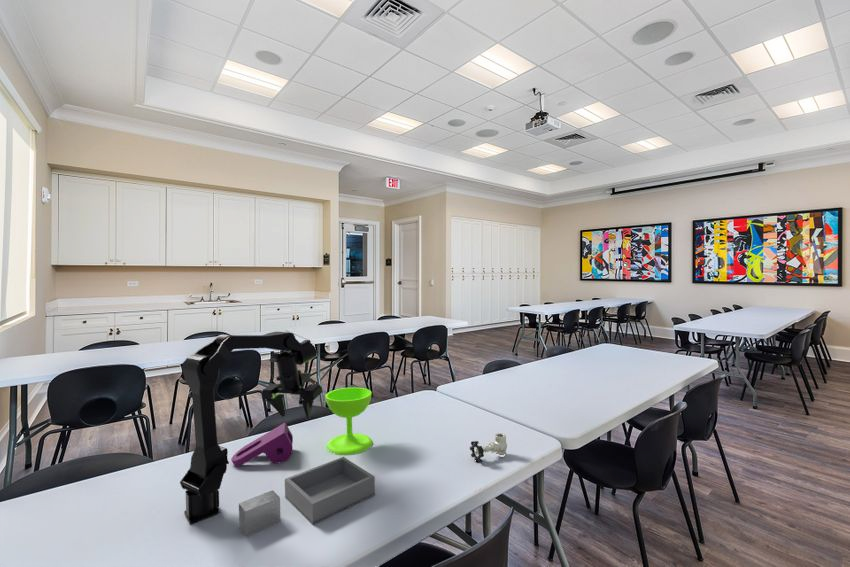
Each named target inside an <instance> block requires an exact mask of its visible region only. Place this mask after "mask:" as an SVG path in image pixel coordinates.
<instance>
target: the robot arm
mask: <svg viewBox="0 0 850 567" xmlns="http://www.w3.org/2000/svg"><path fill="white" fill-rule="evenodd" d="M249 349H251V350H252V349H267V350H273V351H280V352H279V353H278V352H277V353H276V352H274V353H272V356H270V358H269V362H271V363H276V367H277V373H278V376H276V379H275V380H276V381H278V382H279V383H271V384H269V385H267V386H266V387H265V388H263V389H262V391H261V394H260V395H261V399H262V400H265V402H267V403H269V404H270V405H271V406H272V407H273V409H274V410H276V411H277V412H278V414H279V415H280V416H281V417H283V418H284V417H285V416H286V409H285V404H284V396H285V395H293V396H296V395H297V396H301V405H302V407H303V410H304V413H305V416H306V418H307V419H308V418H310V417H311V413H312V409H313V408H312V407H313V404H314V400H315V399H317V398H318V397H319V396H320V395H321V394H322V393H323V387H322V385H321V384H319V383H317V384H316V383H315V384H314V383H312V384H311V383H310V382H311V372H302V371H301V370H300V369H298V366H300V365H304V364H306V363H308V362H310V361H312V360H314V359H316V357H317V354H318V353H317V352H318V350H317V349H316V347H315V345H314V344H312V343H311V339H305V340H302V341H301V342H300V341H299V340H298V339H297V338H296V336H295V334H294V333H293V332H289V331H287V332H286V331H272V332H268V333H265V334H261V335H260V334H257V335H256V334H255V335H254V334H252V335H251V334H248V335H247V334H246V335H245V334H242V335H241V334H238V335H237V334H223V333H222V334H218V336H216V337H215V338H214V339H213V340H211V341H210V342H209V343H208V344H205V345H203V346H202V347H201V348H199V349H198V350H196V352H194V354H191V355H189V356H188V357H186V359H185V360H184V361H183V362H182V365H181V366H182V367H181V370H182V373H183V377H184V380H185V382H186V384H187V386H188V388H189V390H190V391H191V398H192V400H191V401H192V413H193V425H194V437H195V438H194V439H195V448H194V450H193V452H192V455H191V457H190V466H189V469H188V470H187V472H186V473H185V475H184V476H183V477H182V479H180V482H179V484H180V486H181V489H183V490H185V509H184V513H183V514H184V516H185V517H186V519H187V522H188V523H189V525H191V524H195V523H197V522H200V521H202V520H205V519H208V518H210V517H212V516H215V515H217V514H219V513H220V509H219V507H220V492H219V491H220V489H221V485H222V482H223V478H224V475H225V474H226V472H227V469H228V468H227V466H228V465H229V464H230V462H229V460H228V454H229V452H228V451H229V450H228V448H227V447H225V446H221V445H219V443H218V431H217V417H216V403H215V391H214V390H215V387H216V385H217V382H218V380H219V378H220V377H219V376H220V368H221V367H223V365H224V364H225V363H226V362H227V361H228V358H229V357H230V355H231V353H232V352H233V350H249ZM306 383H308V385H307V386H305V384H306ZM304 386H305V387H304ZM303 387H304V388H303Z"/></svg>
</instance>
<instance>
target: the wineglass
mask: <svg viewBox="0 0 850 567" xmlns="http://www.w3.org/2000/svg"><path fill="white" fill-rule="evenodd" d="M372 395H373V394H372V391H371V390H370V389H368V388H366V387H365V388H364V387H342V388H338V389H335V390H330V391H328V392H327V393H326V394H325V395H324V396H325V402H326V405H327V406H328V409H329V411H330V412H332V414H333V415H336V416H338V417H339V418H343V419H344V418H346V433H345V434H341V435H337V436H336V437H333V438H332V439H330V440H329V441H328V442H327V444H326V447H327V448H326V450H327V449H328V450H329V451H330V452H332V453H331V454H333V453H335V454H334V455H337V454H339V455H338V456H350V455H349V454H353V455H356V454H355V453H358V454H360V453H359V452H361V453H363V452H362V451H364V452H366V451H367V450H366V449H368V448H369V447H370V446H371V445H372V446H373V440H372V438H371V437H370V436H368V435H365V434H362V433H353V417H354V418H355V417H357V416H359V415H361V414H362V413H363V412H365V411H366V409H367V408H368V407H369V405H370V402H371V400H372ZM372 446H371V447H372ZM371 447H370V448H371ZM370 448H369V449H370ZM369 449H368V450H369ZM328 450H327V451H328ZM365 450H366V451H365ZM329 451H328V452H329ZM330 452H329V453H330Z"/></svg>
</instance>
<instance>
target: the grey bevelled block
mask: <svg viewBox="0 0 850 567" xmlns="http://www.w3.org/2000/svg"><path fill="white" fill-rule="evenodd" d="M281 518H282V517H281V496H280V495H279V494H277V493H276V492H275V491H274V490H269V491H267V492H264V493H262V494H259V495H257V496H253V497H251V498H249V499H246V500H243V501H241V502H239V503H238V520H239V521H238V522H239V524H238V525H239V529H240V532H241V533H242V534H243V536H244V537H245V538H247V537H249V536H252V535H254V534H256V533H259V532H261V531H263V530H265V529H268V528H270V527H272V526H275V525H276V524H279V523H281Z"/></svg>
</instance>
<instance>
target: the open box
mask: <svg viewBox="0 0 850 567" xmlns="http://www.w3.org/2000/svg"><path fill="white" fill-rule="evenodd" d="M375 477H376V476H375V475H373V474H372V473H370V472H368V471H367V470H365V469H363V468H362V467H361V466H359V465H358V464H356V463H354V462H353V461H351V460H350V459H348V458H346V457H345V456H342V457H339V458H336V459H334V460H331V461H329V462H326V463H324V464H320V465H318V466H316V467H312V468H311V469H308V470H305V471H302V472H299V473H297V474H294V475H292V476H288V477H287V478H285V479H284V498H285V499H286V500H287V501H288V502H289V503H290V504H291V505H292V506H293V507H294V508H295V509H296V510H297V511H298V512H299V513H300V514H301V515H302V516H304V518H305V519H306V520H307V521H308V522H309V523H310V524H311V525H317V524H318V523H320V522H323V521H324V520H326V519H328V518H330V517H332V516H334V515H336V514H339V513H340V512H342V511H345V510H346V509H349V508H351V507H353V506H354V505H357V504H359V503H361V502H363V501H365V500H368V499H369V498H371V497H373V496H375V495H376V490H375V489H376V481H375V480H376V478H375Z"/></svg>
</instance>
